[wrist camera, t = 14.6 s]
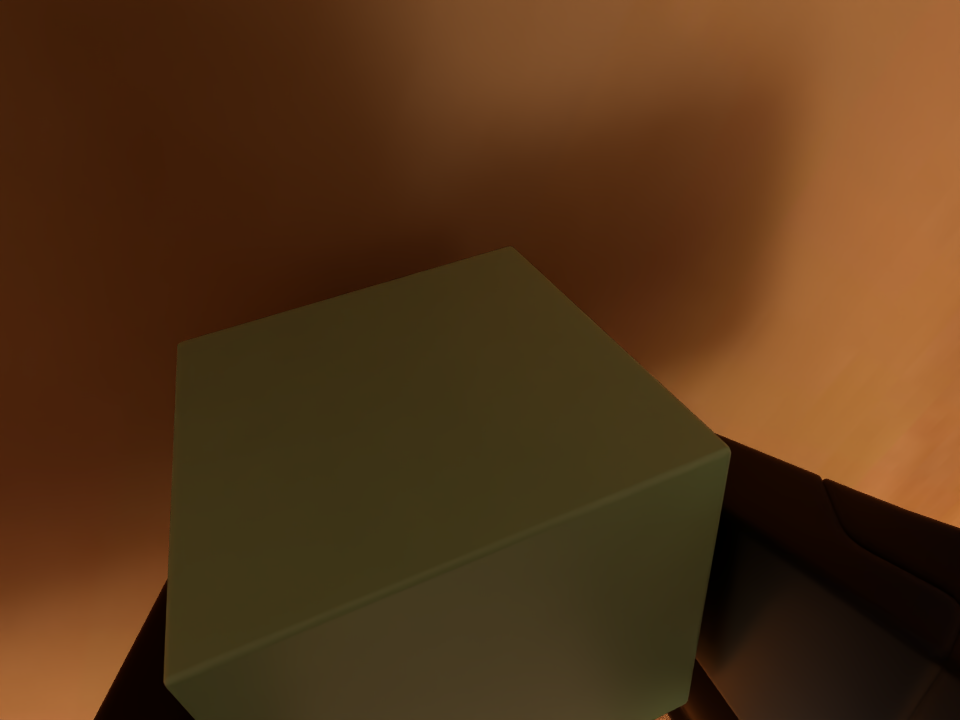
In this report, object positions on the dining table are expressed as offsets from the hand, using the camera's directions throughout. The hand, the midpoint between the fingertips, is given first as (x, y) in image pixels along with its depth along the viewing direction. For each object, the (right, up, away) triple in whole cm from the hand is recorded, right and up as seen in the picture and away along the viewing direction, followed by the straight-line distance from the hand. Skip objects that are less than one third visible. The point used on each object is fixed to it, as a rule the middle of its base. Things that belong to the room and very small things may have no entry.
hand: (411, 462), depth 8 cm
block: (0, +1, +1) cm, 1 cm away
